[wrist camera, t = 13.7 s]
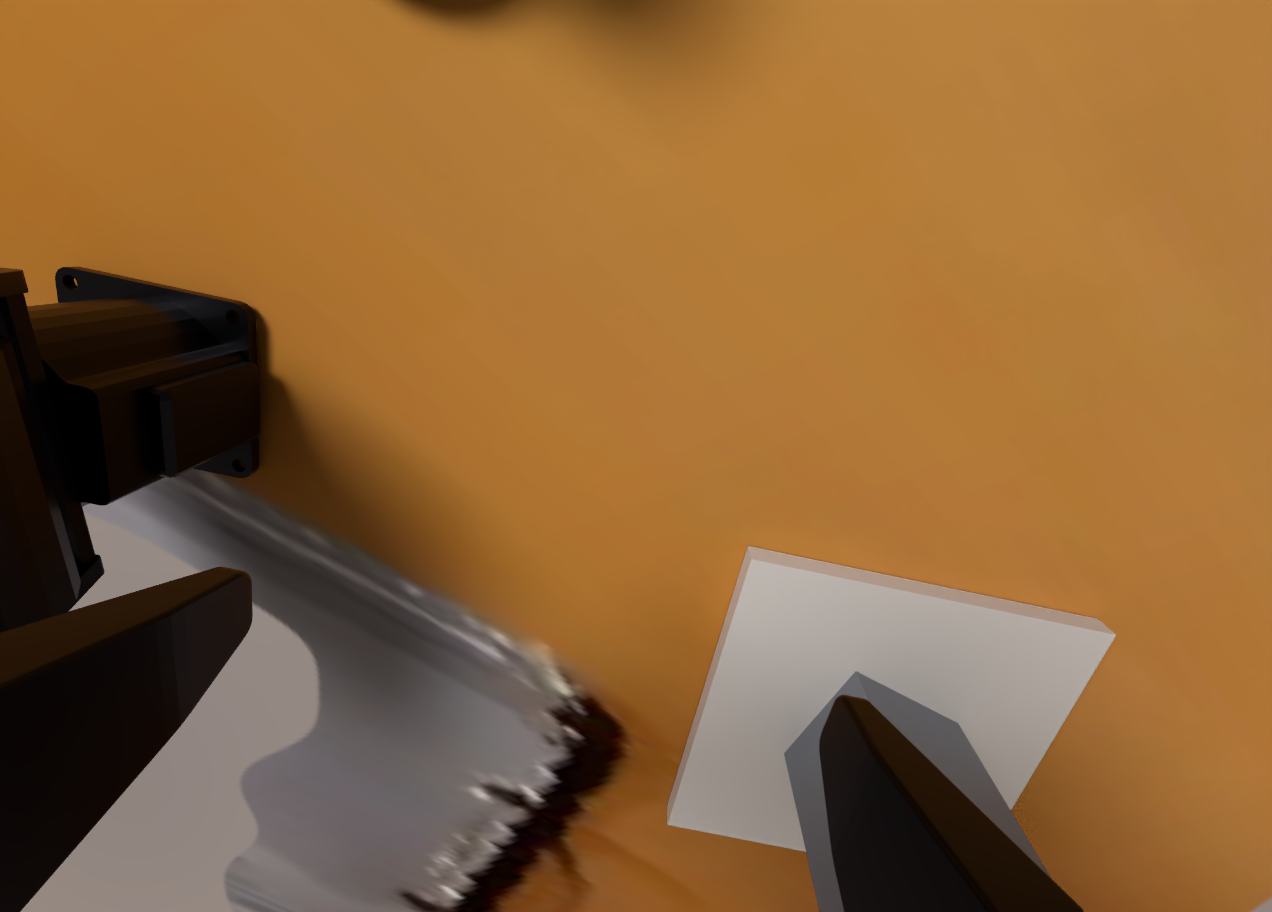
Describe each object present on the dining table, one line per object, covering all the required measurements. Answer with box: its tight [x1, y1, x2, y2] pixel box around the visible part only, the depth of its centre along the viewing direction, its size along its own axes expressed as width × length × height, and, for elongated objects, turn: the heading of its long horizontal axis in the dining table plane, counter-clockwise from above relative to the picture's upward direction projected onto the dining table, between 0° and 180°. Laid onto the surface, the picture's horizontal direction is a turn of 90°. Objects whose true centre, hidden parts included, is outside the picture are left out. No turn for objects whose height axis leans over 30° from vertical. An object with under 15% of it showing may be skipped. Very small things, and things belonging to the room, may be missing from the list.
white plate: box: [667, 546, 1116, 852], centre depth 25 cm, size 14×14×1 cm
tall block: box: [784, 671, 1051, 912], centre depth 18 cm, size 5×5×13 cm
